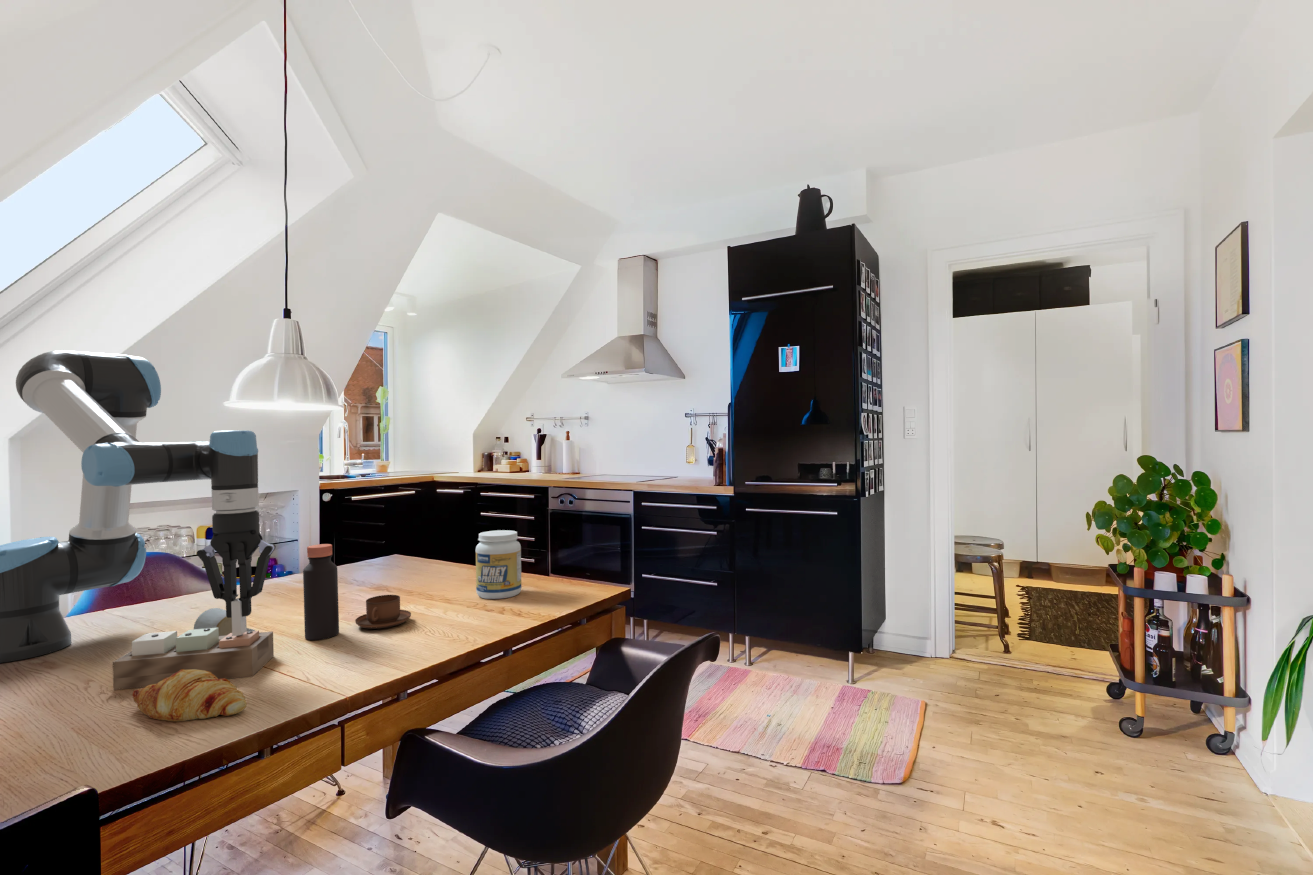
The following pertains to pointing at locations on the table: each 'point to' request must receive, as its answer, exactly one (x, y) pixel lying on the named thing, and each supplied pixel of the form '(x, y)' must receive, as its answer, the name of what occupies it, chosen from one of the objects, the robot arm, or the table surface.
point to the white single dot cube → (154, 643)
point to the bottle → (320, 594)
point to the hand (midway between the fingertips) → (239, 633)
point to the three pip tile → (239, 639)
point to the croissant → (189, 697)
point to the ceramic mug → (215, 621)
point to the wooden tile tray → (193, 663)
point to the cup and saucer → (383, 612)
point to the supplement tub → (498, 565)
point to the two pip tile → (197, 639)
